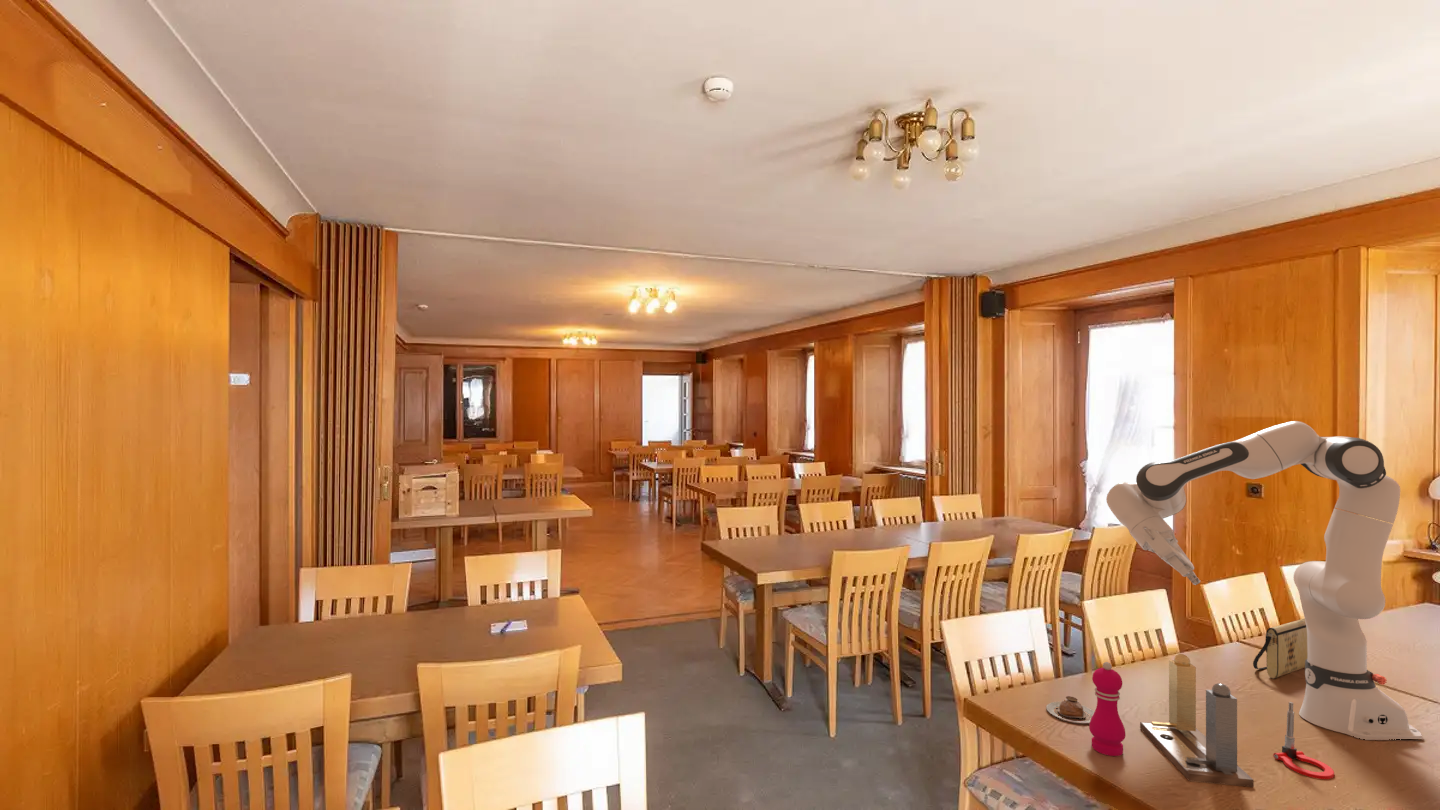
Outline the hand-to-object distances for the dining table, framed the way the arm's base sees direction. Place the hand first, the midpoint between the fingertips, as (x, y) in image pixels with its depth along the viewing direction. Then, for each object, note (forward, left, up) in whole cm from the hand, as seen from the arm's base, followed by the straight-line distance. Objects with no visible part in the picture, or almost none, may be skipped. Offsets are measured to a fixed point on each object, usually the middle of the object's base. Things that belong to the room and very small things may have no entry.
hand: (1192, 579), depth 170 cm
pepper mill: (+27, +20, -36) cm, 49 cm away
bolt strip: (+10, +19, -34) cm, 40 cm away
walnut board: (+9, +19, -35) cm, 41 cm away
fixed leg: (+9, +27, -34) cm, 44 cm away
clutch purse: (-45, -44, -36) cm, 72 cm away
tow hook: (-13, +20, -36) cm, 43 cm away
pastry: (+29, +2, -36) cm, 46 cm away
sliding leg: (+9, +10, -33) cm, 36 cm away
